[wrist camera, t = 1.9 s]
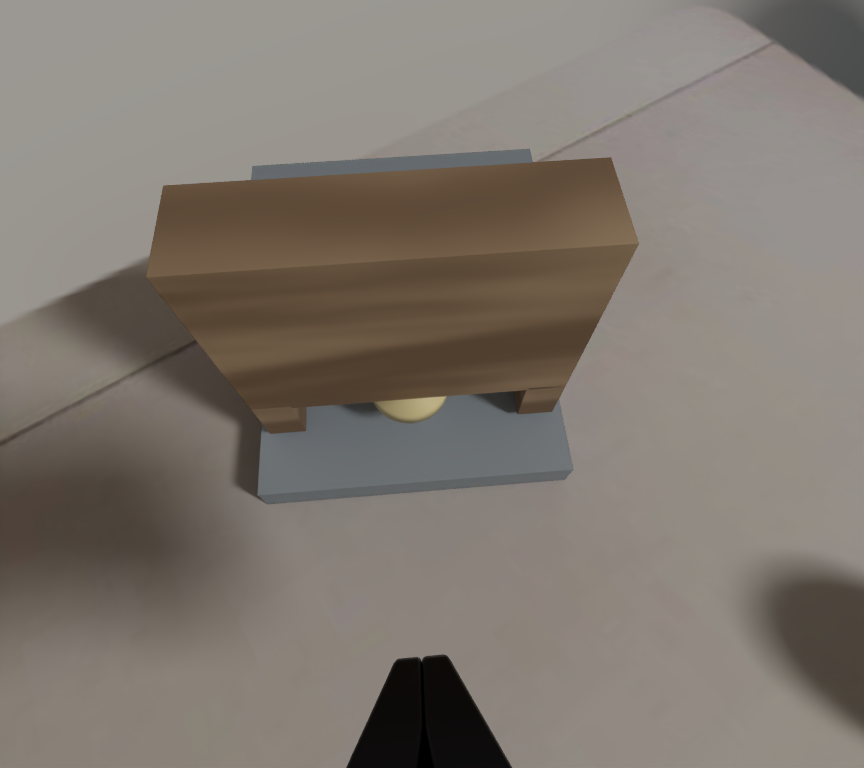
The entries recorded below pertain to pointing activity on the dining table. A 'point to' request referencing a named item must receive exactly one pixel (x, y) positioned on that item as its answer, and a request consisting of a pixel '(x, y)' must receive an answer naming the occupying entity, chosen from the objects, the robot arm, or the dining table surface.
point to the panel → (394, 281)
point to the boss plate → (412, 451)
